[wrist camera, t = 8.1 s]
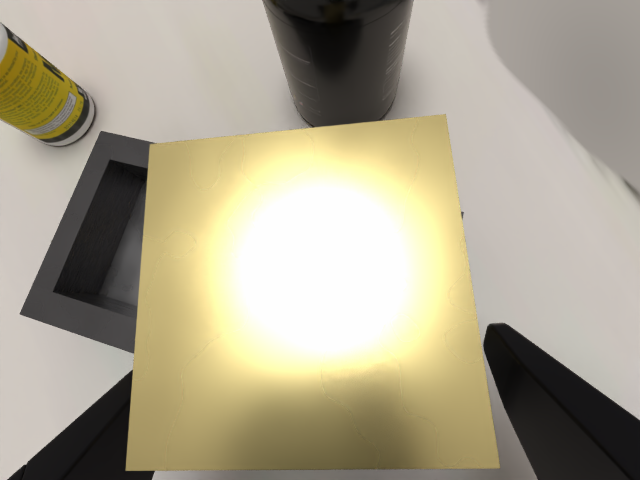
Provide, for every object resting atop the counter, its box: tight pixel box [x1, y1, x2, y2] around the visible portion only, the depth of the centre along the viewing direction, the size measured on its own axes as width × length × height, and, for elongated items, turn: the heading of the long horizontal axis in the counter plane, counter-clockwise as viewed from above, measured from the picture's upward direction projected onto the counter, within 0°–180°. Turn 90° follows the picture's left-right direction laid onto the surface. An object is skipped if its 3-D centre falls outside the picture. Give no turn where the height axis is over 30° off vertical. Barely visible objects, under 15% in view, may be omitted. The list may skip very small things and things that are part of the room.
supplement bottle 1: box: [0, 23, 94, 146], centre depth 18 cm, size 5×5×8 cm
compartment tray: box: [20, 131, 464, 353], centre depth 17 cm, size 10×20×4 cm, turn 74°
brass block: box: [126, 114, 500, 471], centre depth 11 cm, size 6×6×12 cm
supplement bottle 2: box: [262, 0, 414, 127], centre depth 15 cm, size 7×7×12 cm
